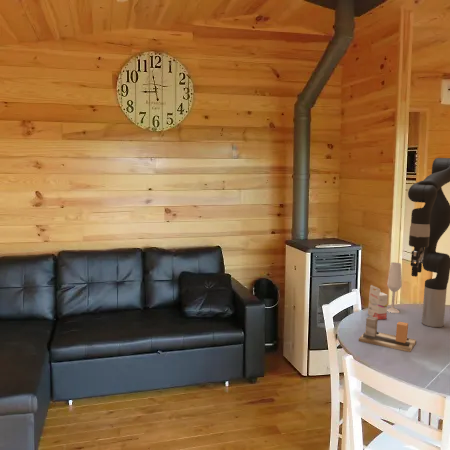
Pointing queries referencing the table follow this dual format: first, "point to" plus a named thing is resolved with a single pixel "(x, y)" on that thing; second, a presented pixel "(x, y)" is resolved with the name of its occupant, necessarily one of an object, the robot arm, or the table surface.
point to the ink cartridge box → (377, 303)
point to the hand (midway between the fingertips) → (416, 274)
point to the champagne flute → (394, 283)
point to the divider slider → (401, 332)
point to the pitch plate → (383, 337)
